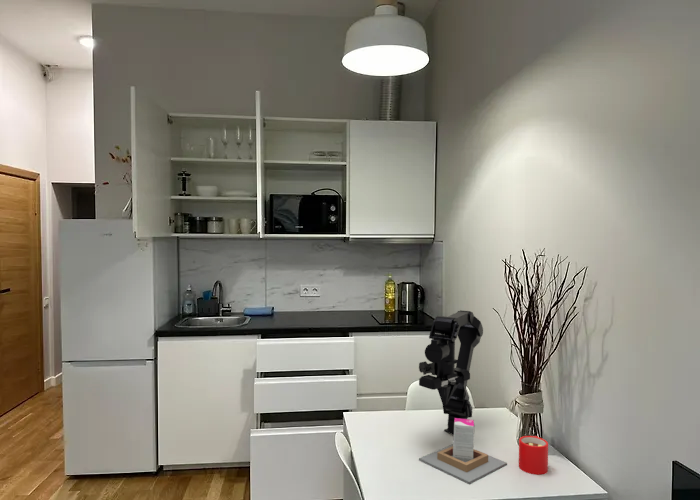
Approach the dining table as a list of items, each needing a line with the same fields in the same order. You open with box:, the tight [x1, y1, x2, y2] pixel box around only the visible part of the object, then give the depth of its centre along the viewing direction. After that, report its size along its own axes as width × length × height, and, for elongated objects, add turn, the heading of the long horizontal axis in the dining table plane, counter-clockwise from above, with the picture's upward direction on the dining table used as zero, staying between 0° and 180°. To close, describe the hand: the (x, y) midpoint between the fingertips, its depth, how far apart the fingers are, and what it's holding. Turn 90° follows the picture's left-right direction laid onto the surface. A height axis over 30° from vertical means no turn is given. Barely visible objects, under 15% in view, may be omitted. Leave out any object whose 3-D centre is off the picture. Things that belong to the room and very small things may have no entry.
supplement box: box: [452, 418, 475, 462], centre depth 143 cm, size 6×6×12 cm
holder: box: [418, 444, 508, 485], centre depth 143 cm, size 18×18×3 cm
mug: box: [518, 435, 549, 476], centre depth 142 cm, size 8×12×8 cm, turn 154°
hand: (444, 404), depth 154 cm, fingers closed
